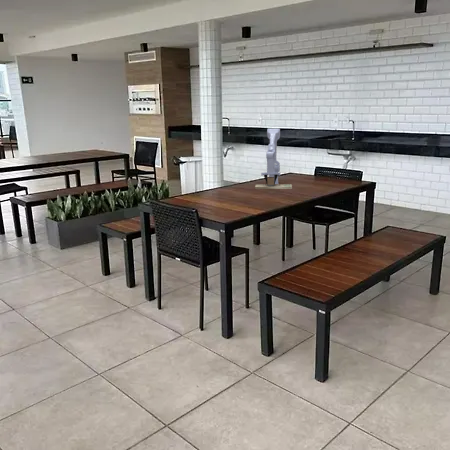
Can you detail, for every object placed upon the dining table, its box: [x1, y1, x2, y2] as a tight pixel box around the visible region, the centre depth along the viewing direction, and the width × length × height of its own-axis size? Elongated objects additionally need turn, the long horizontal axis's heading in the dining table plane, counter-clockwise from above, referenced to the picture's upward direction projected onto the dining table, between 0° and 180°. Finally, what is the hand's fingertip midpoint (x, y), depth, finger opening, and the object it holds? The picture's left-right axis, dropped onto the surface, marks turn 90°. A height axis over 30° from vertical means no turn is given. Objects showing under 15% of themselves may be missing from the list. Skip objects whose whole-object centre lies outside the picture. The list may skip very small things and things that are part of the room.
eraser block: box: [266, 176, 274, 186], centre depth 367 cm, size 7×5×6 cm
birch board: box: [254, 184, 293, 190], centre depth 368 cm, size 10×28×2 cm, turn 84°
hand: (270, 184), depth 367 cm, fingers closed on eraser block, 5 cm apart
